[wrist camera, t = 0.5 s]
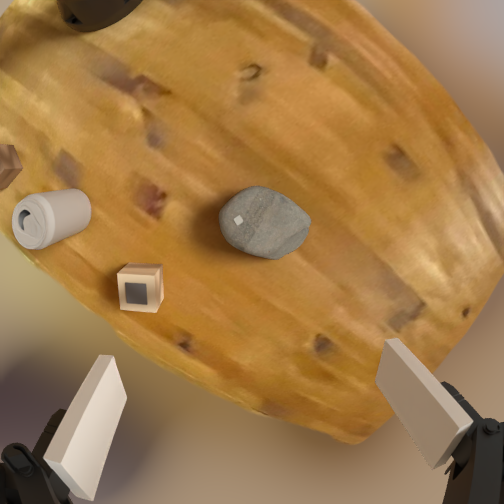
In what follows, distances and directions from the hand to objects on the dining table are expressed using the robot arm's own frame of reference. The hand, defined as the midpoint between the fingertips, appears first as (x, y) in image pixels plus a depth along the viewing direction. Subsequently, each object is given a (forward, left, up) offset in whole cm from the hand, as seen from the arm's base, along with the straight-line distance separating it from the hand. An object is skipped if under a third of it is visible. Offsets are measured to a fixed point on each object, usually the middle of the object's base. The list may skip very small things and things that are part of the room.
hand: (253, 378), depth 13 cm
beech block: (+1, -14, -28) cm, 31 cm away
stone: (-2, +4, -28) cm, 28 cm away
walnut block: (-24, -32, -28) cm, 48 cm away
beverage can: (-12, -21, -28) cm, 37 cm away
